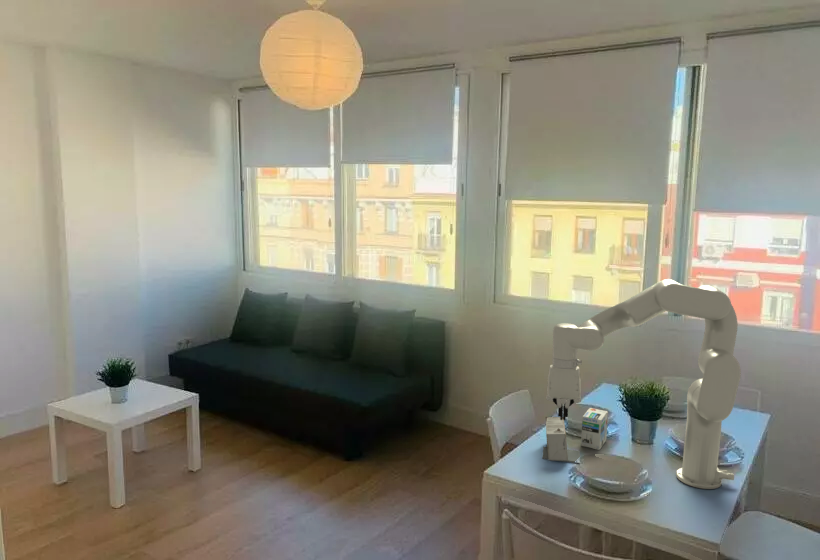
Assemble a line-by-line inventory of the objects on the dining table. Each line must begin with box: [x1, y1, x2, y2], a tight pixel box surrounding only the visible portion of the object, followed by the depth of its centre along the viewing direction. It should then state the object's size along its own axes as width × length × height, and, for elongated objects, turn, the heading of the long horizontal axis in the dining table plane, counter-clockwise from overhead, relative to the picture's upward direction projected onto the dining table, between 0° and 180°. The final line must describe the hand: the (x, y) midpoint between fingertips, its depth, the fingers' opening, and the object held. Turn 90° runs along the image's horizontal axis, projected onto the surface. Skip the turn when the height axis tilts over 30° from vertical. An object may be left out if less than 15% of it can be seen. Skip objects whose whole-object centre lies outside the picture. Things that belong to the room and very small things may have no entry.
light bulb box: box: [580, 407, 609, 451], centre depth 212 cm, size 11×7×11 cm, turn 150°
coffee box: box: [545, 416, 568, 461], centre depth 203 cm, size 9×6×16 cm
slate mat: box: [541, 446, 581, 464], centre depth 202 cm, size 12×9×1 cm
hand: (562, 418), depth 194 cm, fingers closed
